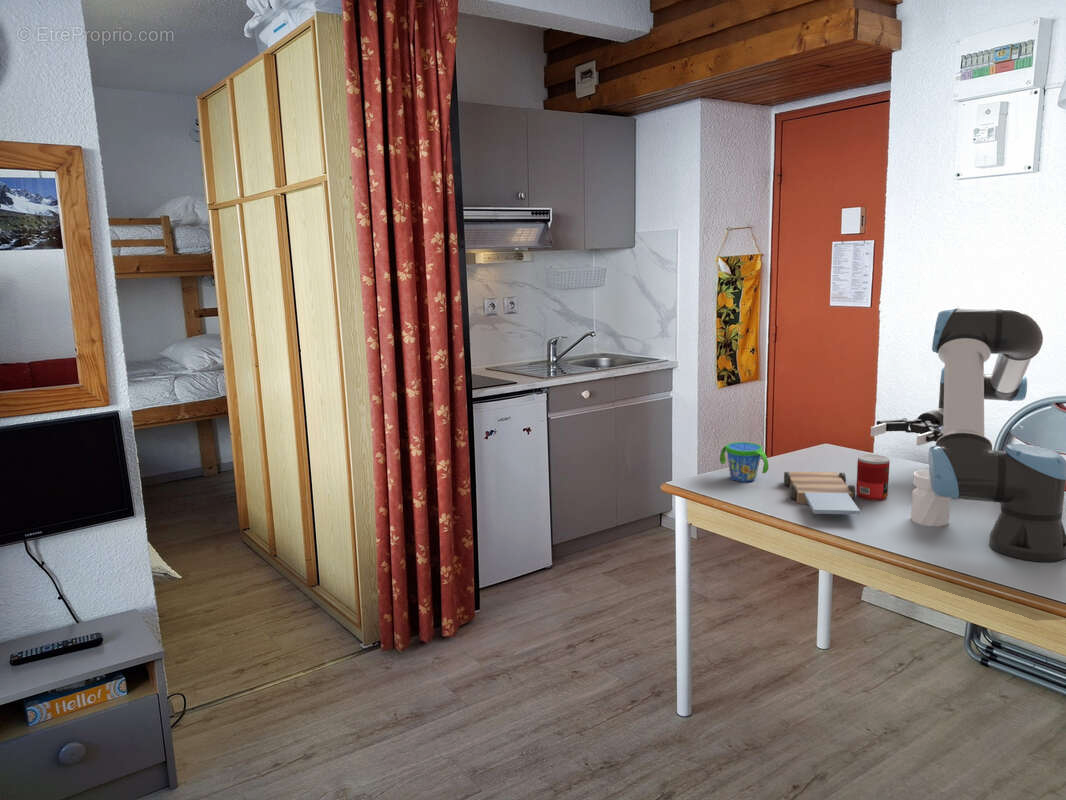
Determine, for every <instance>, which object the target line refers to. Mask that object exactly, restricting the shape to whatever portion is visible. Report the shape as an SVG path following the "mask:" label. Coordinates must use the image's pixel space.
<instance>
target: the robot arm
mask: <svg viewBox="0 0 1066 800" xmlns="http://www.w3.org/2000/svg"><path fill="white" fill-rule="evenodd" d="M932 337H933V338H932V345H931V352H933V353H936V354H938V358H939V360H940V362H942V363H943V364H944V367H943V368H941V371H940V372H941V373H940V380H939V397H938V408H936V409H933V410H931V411H927V412H924V413H923V412H922V413H921V414H919V416H918V417H917V418H916V419H914V420H913V419H912V420H910V419H909V420H908V418H904V417H903V418H900V419H889V420H887V419H885V420H876V425H873V426H870V437H877V436H879V435H884V434H885V433H887V432H905V433H907V434H909V433H910V434H911V433H912V434H913V433H915V434H918V435H917V436H916V446H923V445H926V444H928V443H932V442H935V445H931V446H930V447H929V448H928V470H929V475H930V482H931V487H932V490H933V492H934V493H935V494H936V495H938V496H941V497H948V498H951V500H967V501H980V502H991V503H1001V504H1000V512H999V515H998V517H997V518H996V520H995V523H994V526H993V528H992V529H991V531H990V532H989V539H988V545H989V546H990V548H991V549H992V550H994V551H996V552H999V553H1000V554H1002V555H1005V556H1008V557H1012V558H1015V559H1019V560H1024V561H1029V562H1030V561H1031V562H1044V563H1045V562H1051V563H1052V562H1058V561H1062V560H1064V559H1066V531H1065V527H1064V524H1063V521H1062V520H1063V508H1064V499H1065V492H1066V491H1065V490H1066V458H1065V457H1064V456H1063V455H1061V454H1060V453H1058V452H1056V451H1054V450H1051V449H1048V448H1044V447H1039V446H1036V445H1032V444H1023V443H1009V444H1007V445H1006V447H1004V450H993V444H992V442H991V440H990V439H989V438H987V437H986V436H985V400H989V401H991V400H992V401H1004V402H1005V401H1008V402H1012V401H1014V402H1016V401H1023V400H1025V399H1026V397H1027V391H1028V378H1027V377H1026V376H1025V374H1026V373H1027V372H1026V371H1027V370H1028V367H1029V365H1030V362H1031V360H1032V359H1033V358H1034V357H1036V356H1037V355H1038V354H1039V352H1040V351H1041V348H1042V346H1043V341H1044V336H1043V332H1042V329H1041V327H1040V326H1039V324H1038V323H1037V322H1036V321H1035V320H1034V319H1033V318H1032V317H1031V316H1030V315H1029V314H1027V313H1025V312H1023V311H1021V310H1018V309H1015V308H1011V307H960V306H955V307H945V308H941V309H940V310H939V311H938V314H937V318H936V321H935V325H934V333H933V336H932ZM991 354H992V355H997V358H996V360H995V364H994V367H993V370H992V373H985V370H984V367H985V366H984V365H985V363H986V362H987V361H988V360H989V359H990V357H991Z"/></svg>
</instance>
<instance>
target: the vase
mask: <svg viewBox="0 0 1066 800" xmlns="http://www.w3.org/2000/svg"><path fill="white" fill-rule="evenodd" d="M912 484H913V485H914V486H915V488H914V489H913V490H912V491H911V510H910V520H911V521H912V522H913V523H916V524H919V525H921V526H927V527H944V526H947V525H949V523H950V515H951V506H952V505H951V503H952V502H951V501H952V498H948V497H941V496H938V495H936V494H935V493H934V492H933V490H932V487H931V482H930V475H929V469H918V470H916V471H914V472H913V482H912Z"/></svg>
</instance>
